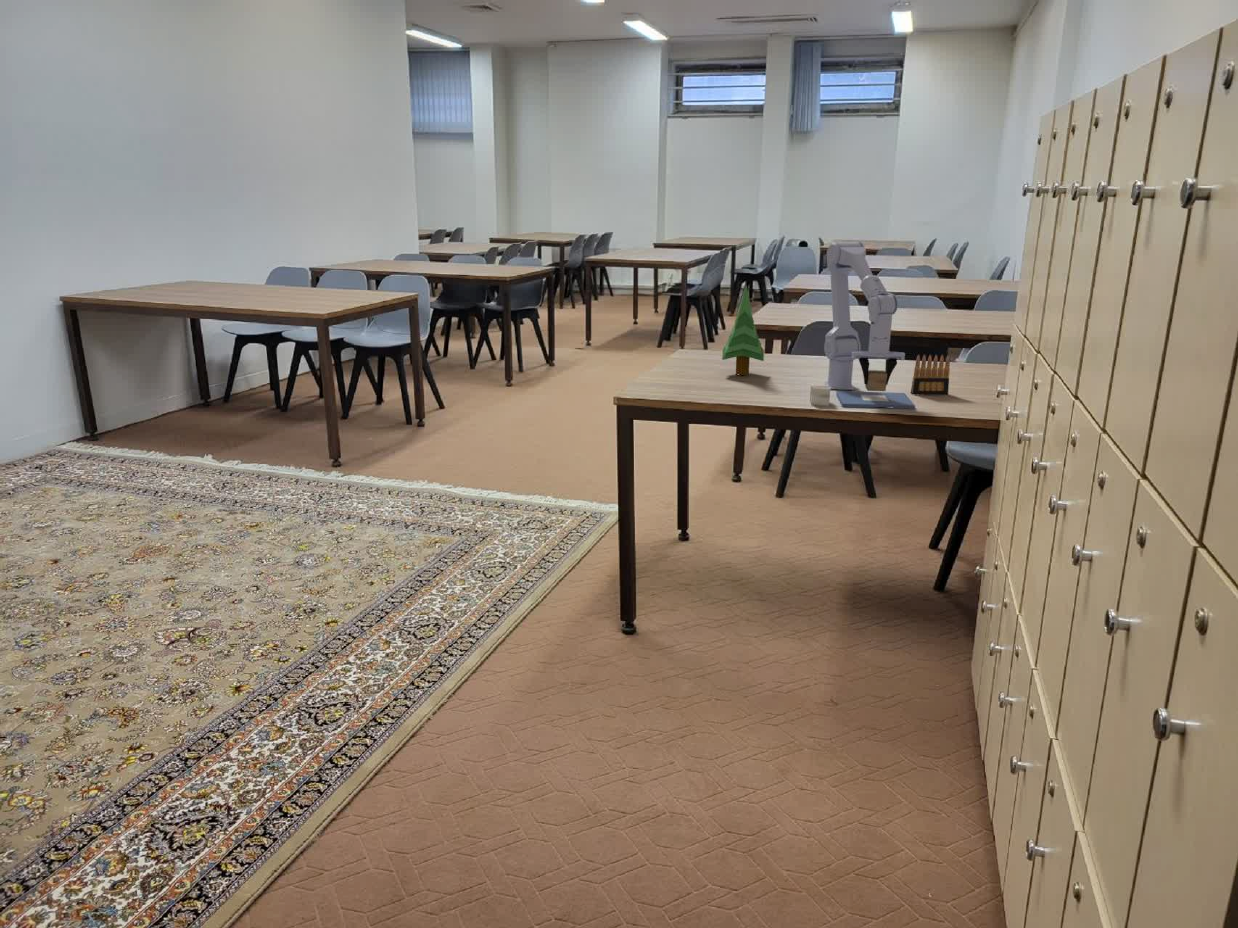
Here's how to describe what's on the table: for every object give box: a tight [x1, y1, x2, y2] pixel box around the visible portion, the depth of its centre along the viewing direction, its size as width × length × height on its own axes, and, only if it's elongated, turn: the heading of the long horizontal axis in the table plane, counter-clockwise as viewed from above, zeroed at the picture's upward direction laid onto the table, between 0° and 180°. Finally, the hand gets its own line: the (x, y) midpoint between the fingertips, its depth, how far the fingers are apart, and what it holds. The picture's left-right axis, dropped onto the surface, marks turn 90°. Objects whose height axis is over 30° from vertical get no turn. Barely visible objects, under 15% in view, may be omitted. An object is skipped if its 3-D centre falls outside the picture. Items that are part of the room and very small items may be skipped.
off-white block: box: [809, 384, 831, 406], centre depth 254 cm, size 5×5×5 cm
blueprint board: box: [835, 390, 916, 410], centre depth 256 cm, size 16×20×1 cm
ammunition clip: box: [910, 354, 951, 396], centre depth 264 cm, size 11×2×12 cm, turn 88°
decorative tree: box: [721, 284, 765, 375], centre depth 289 cm, size 14×16×30 cm
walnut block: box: [864, 369, 887, 392], centre depth 254 cm, size 5×5×5 cm
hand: (875, 384), depth 255 cm, fingers closed on walnut block, 5 cm apart
